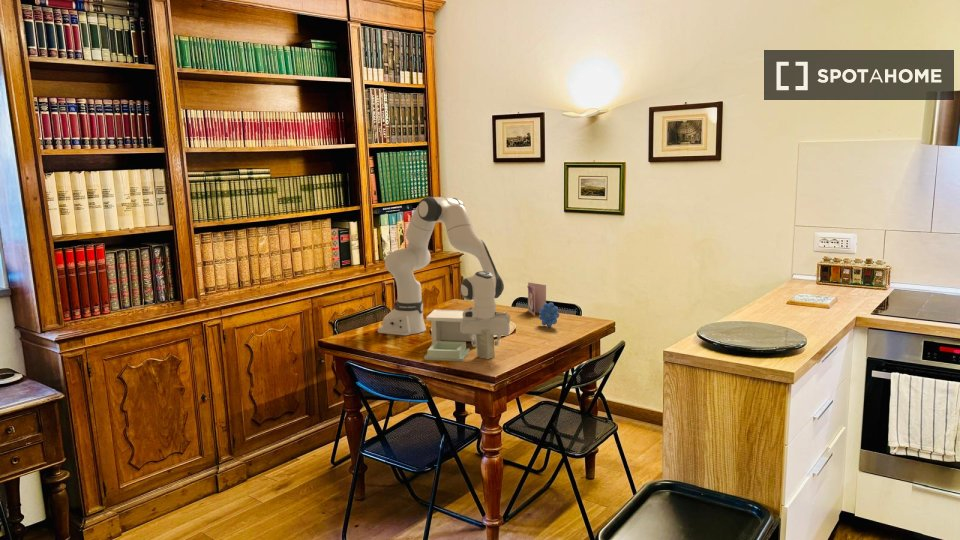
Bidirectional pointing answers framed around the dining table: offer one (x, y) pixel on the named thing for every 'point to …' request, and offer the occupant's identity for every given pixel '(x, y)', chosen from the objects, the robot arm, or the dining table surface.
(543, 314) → the grapes
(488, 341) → the skincare box
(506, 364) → the dining table surface
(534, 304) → the greeting card
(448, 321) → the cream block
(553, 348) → the dining table surface
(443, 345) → the green drawer
